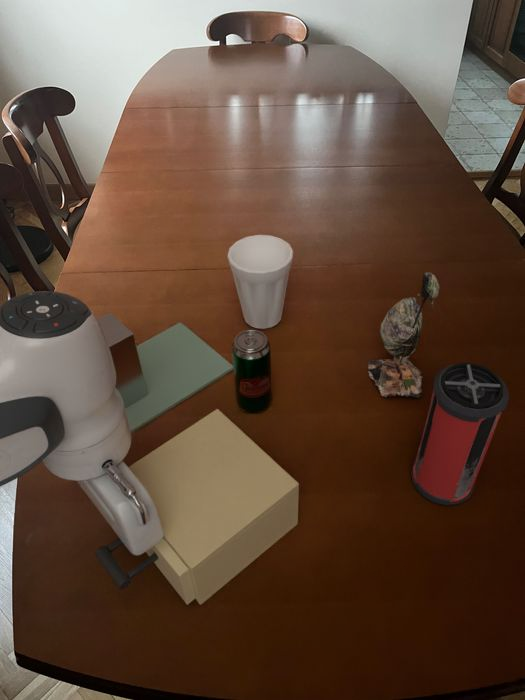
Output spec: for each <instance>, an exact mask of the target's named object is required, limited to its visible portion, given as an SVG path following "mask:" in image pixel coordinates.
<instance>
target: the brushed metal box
mask: <svg viewBox="0 0 525 700" xmlns="http://www.w3.org/2000/svg"><path fill="white" fill-rule="evenodd" d="M97 319H98V321H99V323H100V325H101V327H102V329H103V332H104V334H105V337H106V340H107V343H108V346H109V349H110V352H111V355H112V359H113V363H114V366H115V370H116V385H115V387H116V388H117V390H118V391H119V393H120V394H121V397H122V399H123V402H124V406H125V408H127V407H128V406H130V405H132V404H133V403H135V402H137V401H138V400H140V399H142V398H143V397H145V396H147V395H148V392H147V388H146V384H145V380H144V376H143V372H142V368H141V364H140V359H139V355H138V351H137V347H136V346H137V344H136V339H135V335H134V333H133V331H131V330H130V329H129V328H128V327H127V326H125V324H123V323H122V322H121V321H120V320H119V319H118V318H117V317H115V315H114V314H113V313H111V312H108V313H106V314H104V315H102V316H100V317H97Z"/></svg>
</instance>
